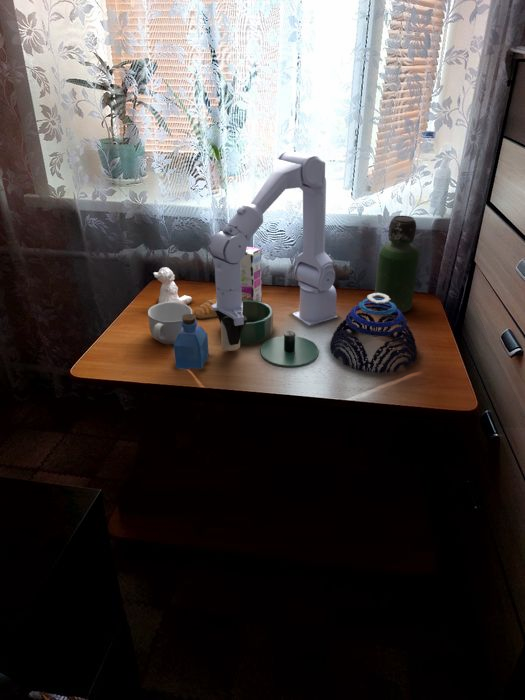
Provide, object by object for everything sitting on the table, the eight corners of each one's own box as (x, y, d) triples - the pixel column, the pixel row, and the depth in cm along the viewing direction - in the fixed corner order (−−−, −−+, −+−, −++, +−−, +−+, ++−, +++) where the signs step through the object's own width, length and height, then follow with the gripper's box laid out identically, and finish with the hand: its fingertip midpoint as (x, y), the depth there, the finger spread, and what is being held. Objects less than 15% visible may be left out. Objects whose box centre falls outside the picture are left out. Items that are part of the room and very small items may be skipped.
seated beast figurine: (193, 301, 154) (189, 262, 148) (181, 315, 147) (177, 274, 141) (162, 298, 156) (157, 259, 150) (149, 311, 149) (144, 271, 143)
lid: (297, 334, 137) (297, 314, 134) (329, 358, 127) (331, 338, 124) (250, 348, 131) (249, 328, 128) (280, 375, 121) (280, 354, 118)
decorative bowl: (313, 344, 133) (316, 291, 125) (376, 324, 141) (382, 273, 134) (366, 384, 118) (372, 326, 111) (432, 359, 127) (442, 303, 119)
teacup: (167, 325, 142) (164, 297, 138) (202, 333, 138) (200, 305, 134) (134, 349, 131) (130, 320, 127) (171, 359, 127) (168, 330, 123)
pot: (256, 316, 146) (256, 296, 143) (282, 336, 136) (282, 315, 133) (213, 328, 140) (212, 307, 137) (236, 350, 131) (236, 328, 128)
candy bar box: (262, 303, 153) (262, 248, 144) (253, 310, 149) (252, 254, 140) (230, 295, 158) (228, 241, 149) (220, 301, 154) (217, 246, 146)
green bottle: (371, 297, 155) (381, 212, 143) (408, 298, 155) (421, 212, 142) (375, 314, 147) (385, 224, 134) (414, 315, 146) (427, 225, 133)
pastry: (202, 323, 143) (201, 310, 141) (189, 315, 147) (188, 302, 145) (231, 313, 148) (230, 300, 146) (217, 305, 152) (216, 293, 150)
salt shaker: (234, 339, 131) (233, 313, 127) (243, 347, 127) (242, 321, 124) (218, 344, 129) (217, 318, 125) (227, 352, 125) (225, 326, 122)
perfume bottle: (201, 370, 123) (198, 324, 117) (175, 368, 124) (171, 322, 118) (208, 356, 128) (205, 311, 122) (184, 354, 129) (179, 309, 123)
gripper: (202, 276, 125) (206, 328, 132) (220, 302, 113) (223, 357, 120) (231, 272, 127) (233, 323, 134) (252, 296, 115) (253, 351, 122)
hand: (230, 338), depth 127 cm, fingers closed on salt shaker, 4 cm apart
